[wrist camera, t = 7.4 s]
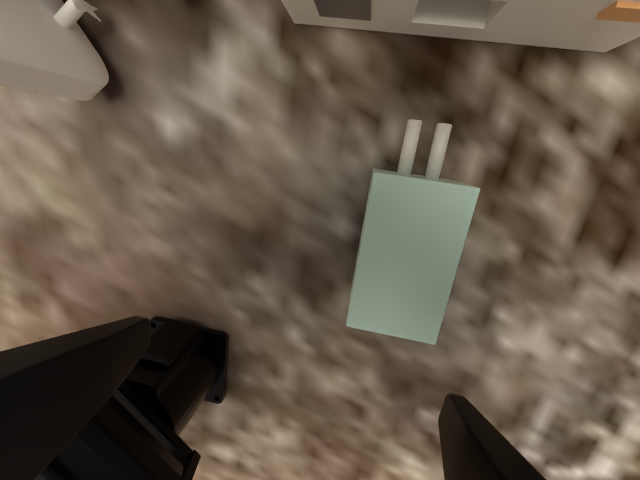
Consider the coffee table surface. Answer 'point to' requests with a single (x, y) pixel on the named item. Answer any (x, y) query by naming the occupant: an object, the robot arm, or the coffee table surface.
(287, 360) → the coffee table surface
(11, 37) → the cable organizer
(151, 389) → the robot arm
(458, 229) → the charger
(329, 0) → the bar
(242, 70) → the coffee table surface
